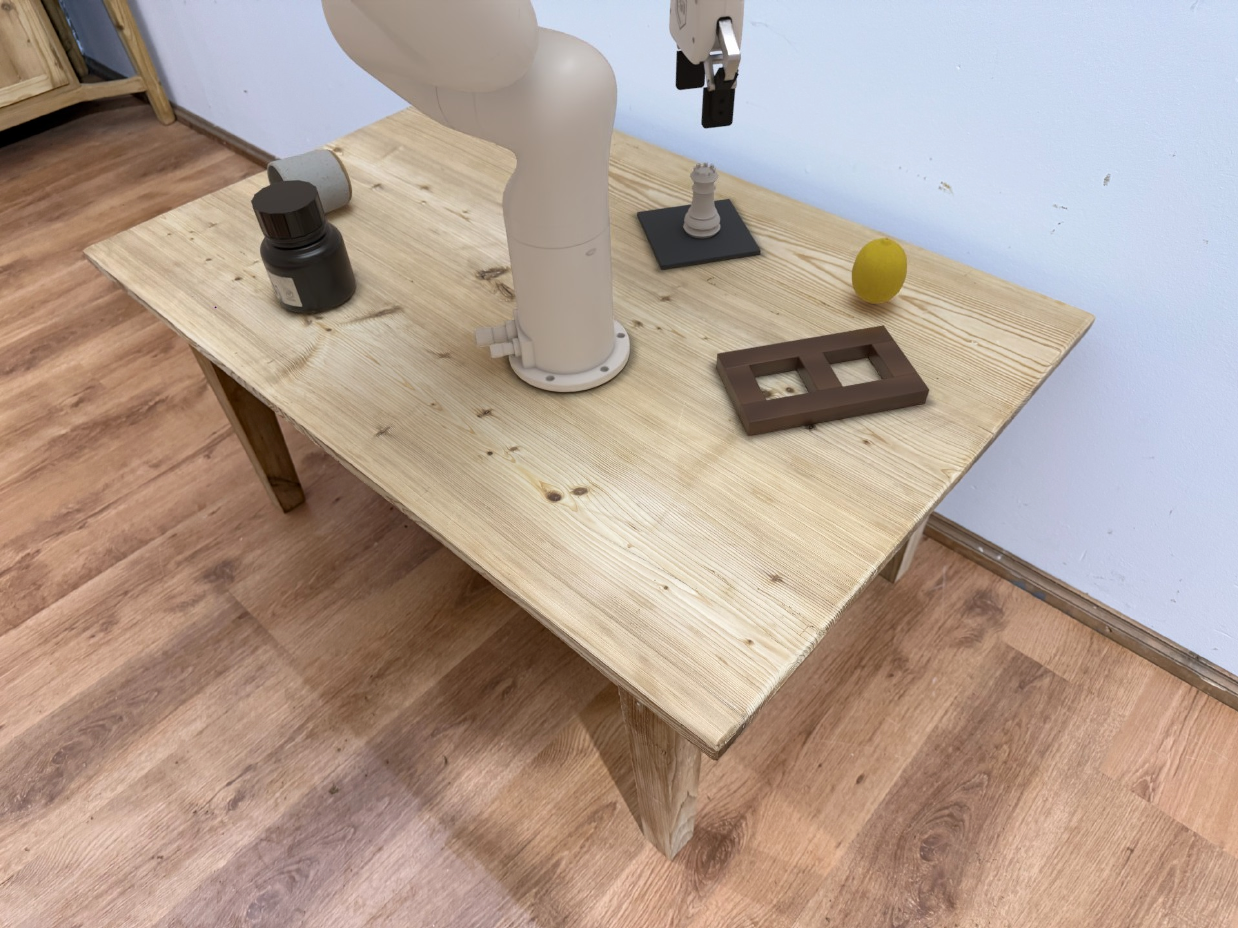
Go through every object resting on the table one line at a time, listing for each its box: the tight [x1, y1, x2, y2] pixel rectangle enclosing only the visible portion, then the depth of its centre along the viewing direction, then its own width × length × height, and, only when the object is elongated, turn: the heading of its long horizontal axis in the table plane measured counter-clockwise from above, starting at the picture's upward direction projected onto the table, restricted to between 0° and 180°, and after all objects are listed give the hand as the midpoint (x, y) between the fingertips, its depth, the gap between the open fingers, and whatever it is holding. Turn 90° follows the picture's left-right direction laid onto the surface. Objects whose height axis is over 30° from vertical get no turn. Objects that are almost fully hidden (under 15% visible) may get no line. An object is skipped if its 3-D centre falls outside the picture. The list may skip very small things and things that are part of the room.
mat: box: [636, 198, 762, 271], centre depth 103 cm, size 12×12×1 cm
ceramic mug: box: [266, 148, 353, 214], centre depth 107 cm, size 11×8×8 cm
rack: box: [715, 324, 930, 436], centre depth 83 cm, size 10×18×2 cm, turn 103°
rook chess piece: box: [683, 162, 720, 239], centre depth 99 cm, size 4×4×8 cm
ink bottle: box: [250, 180, 357, 314], centre depth 93 cm, size 10×9×12 cm
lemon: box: [851, 237, 908, 305], centre depth 90 cm, size 6×6×8 cm
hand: (702, 106), depth 90 cm, fingers open, 9 cm apart
